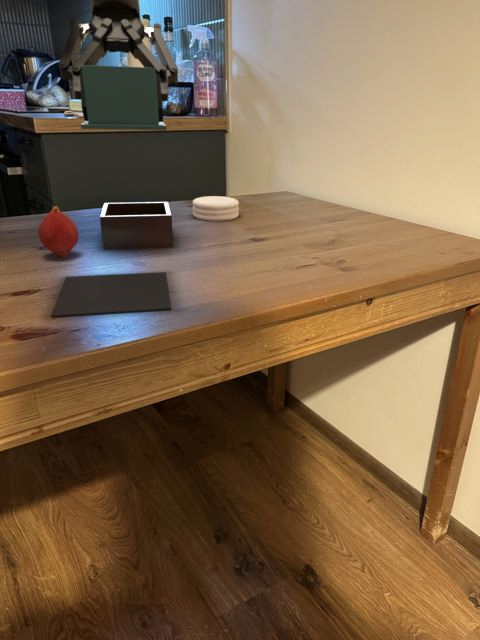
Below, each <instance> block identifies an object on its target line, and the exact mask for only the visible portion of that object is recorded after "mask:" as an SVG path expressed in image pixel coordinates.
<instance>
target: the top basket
mask: <svg viewBox="0 0 480 640" xmlns="http://www.w3.org/2000/svg"><path fill="white" fill-rule="evenodd" d="M81 67H82V75H83V83H84V91H85V100H86V108H87V116H88V121H83V122H82V123H81V124H80V129H81V130H123V131H125V130H130V131H132V130H133V131H167V124H166V123H164V121H163V122H159V116H158V100H157V84H156V68H147V67H144V66H143V67H142V66H141V67H140V66H121V65H120V66H118V65H97V64H96V65H81Z"/></svg>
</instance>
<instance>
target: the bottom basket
mask: <svg viewBox="0 0 480 640" xmlns="http://www.w3.org/2000/svg"><path fill="white" fill-rule="evenodd" d="M101 208H102V209H101V212H100V215H99V222H100V223H99V224H100V231H101V238H102V247H103V251H114V250H115V251H116V250H118V251H119V250H120V251H121V250H139V249H140V250H143V249H144V250H145V249H169V248H170V249H171V248H172V249H173V248H174V231H173V218H172V217H173V215H172V212H171V208H170V204H169V201H144V202H143V201H142V202H141V201H140V202H139V201H138V202H137V201H136V202H135V201H134V202H104V203H103V205H102V207H101Z"/></svg>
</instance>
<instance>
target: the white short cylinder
mask: <svg viewBox="0 0 480 640" xmlns="http://www.w3.org/2000/svg"><path fill="white" fill-rule="evenodd" d="M239 205H240V202H239V200H238V199H236V198H233V197H229V196H224V195H223V196H221V195H220V196H219V195H209V196H200V197H197V198H194V199H193V200H192V217H194V218H195V219H197V220H201V221H207V222H208V221H209V222H225V221H232V220H234V219H237V218H238V217H239V215H240V213H239V210H240V208H239V207H240V206H239Z"/></svg>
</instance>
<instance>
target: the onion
mask: <svg viewBox="0 0 480 640" xmlns="http://www.w3.org/2000/svg"><path fill="white" fill-rule="evenodd" d="M38 238H39V241H40V242H41V244H42V246H44V247H45V248H46V249H47V250H48V251H49V252H51V253H53V254H55V255H56V256H58V257H59V258H65V257H67V256H68V254H70V252H71V251H72V250H73V249H74V248H75V247H76V245H77V244H78V242H79V230H78V228H77V225H76V224H75V222H74V221H73V219H71V218H70V217H69V216H68V215H67V214H64V213H63V212H61V210H60V209H59V206H52V209H51V210H50V211H49V212H48V213H47V214H46V215H45V216H44V217H43V219H42V220H41V222H40V224H39V226H38Z"/></svg>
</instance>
